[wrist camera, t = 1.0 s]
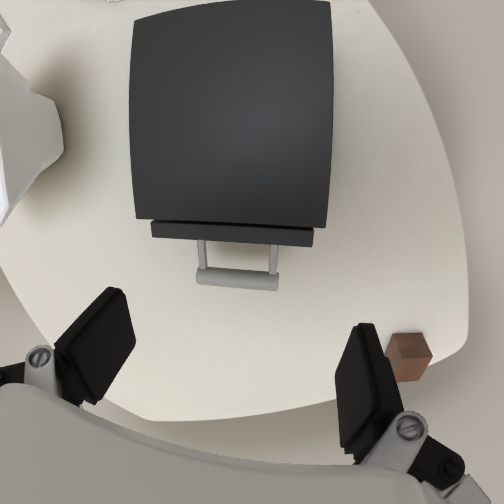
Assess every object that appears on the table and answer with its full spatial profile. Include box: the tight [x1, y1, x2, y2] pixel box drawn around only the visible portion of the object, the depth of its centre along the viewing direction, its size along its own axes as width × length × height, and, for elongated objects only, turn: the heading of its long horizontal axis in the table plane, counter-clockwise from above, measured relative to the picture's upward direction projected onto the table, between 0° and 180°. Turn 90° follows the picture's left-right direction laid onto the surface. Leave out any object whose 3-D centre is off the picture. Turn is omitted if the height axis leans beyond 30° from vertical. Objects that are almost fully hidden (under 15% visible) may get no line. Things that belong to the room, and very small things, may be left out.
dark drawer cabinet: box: [129, 0, 334, 228], centre depth 18 cm, size 15×13×10 cm
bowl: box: [0, 53, 64, 228], centre depth 19 cm, size 19×19×14 cm
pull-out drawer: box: [151, 220, 314, 291], centre depth 20 cm, size 19×11×8 cm, turn 179°
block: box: [384, 333, 433, 382], centre depth 29 cm, size 5×5×5 cm
